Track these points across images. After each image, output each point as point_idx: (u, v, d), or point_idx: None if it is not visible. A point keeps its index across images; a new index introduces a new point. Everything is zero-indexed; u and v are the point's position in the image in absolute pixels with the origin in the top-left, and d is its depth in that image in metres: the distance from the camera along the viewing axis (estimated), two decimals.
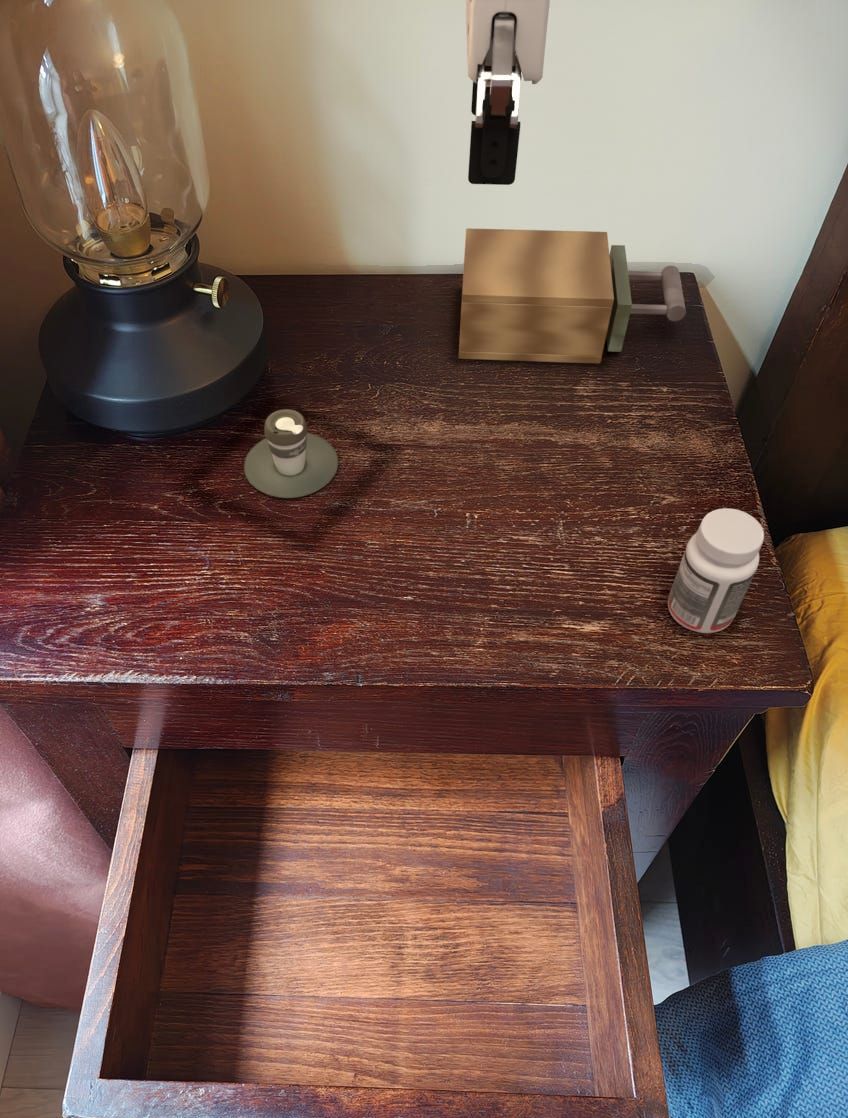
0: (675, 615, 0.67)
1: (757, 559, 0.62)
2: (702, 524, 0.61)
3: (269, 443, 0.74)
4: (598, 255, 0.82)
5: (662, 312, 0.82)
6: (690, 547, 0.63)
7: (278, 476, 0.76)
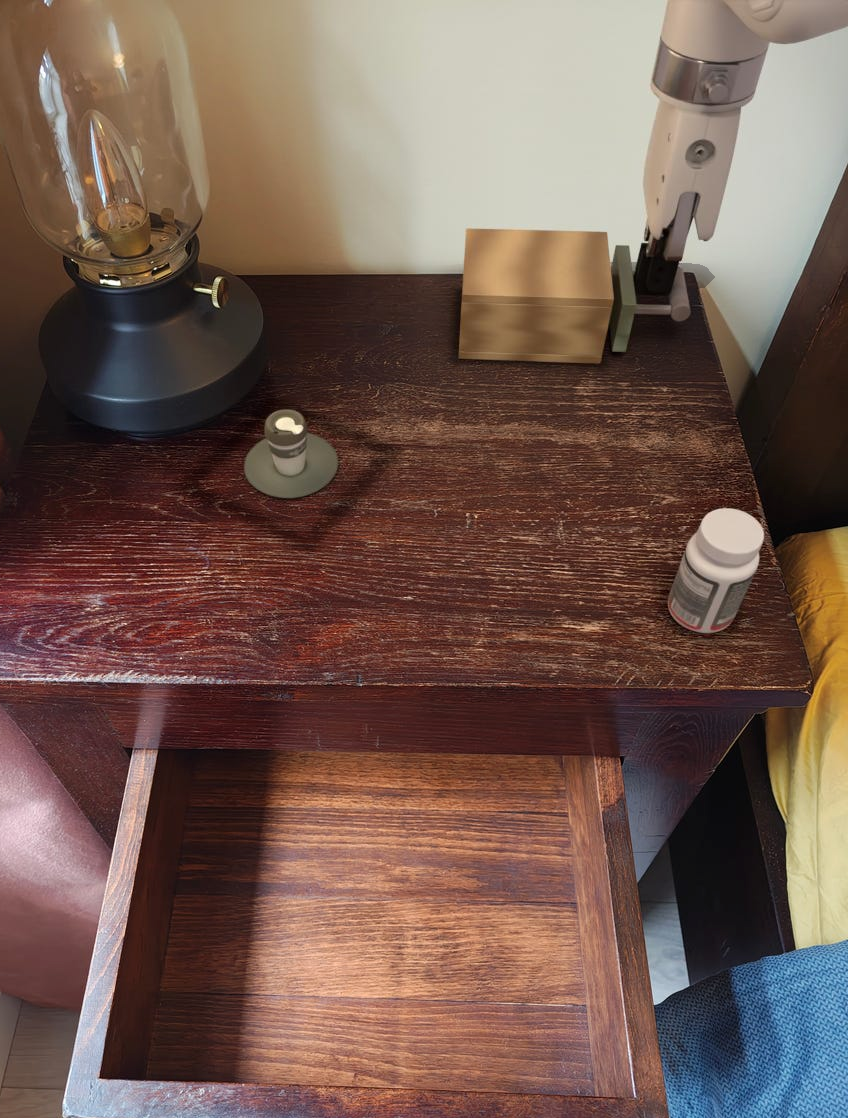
0: (675, 615, 0.67)
1: (757, 559, 0.62)
2: (702, 524, 0.61)
3: (269, 443, 0.74)
4: (598, 255, 0.82)
5: (666, 312, 0.82)
6: (690, 547, 0.63)
7: (278, 476, 0.76)
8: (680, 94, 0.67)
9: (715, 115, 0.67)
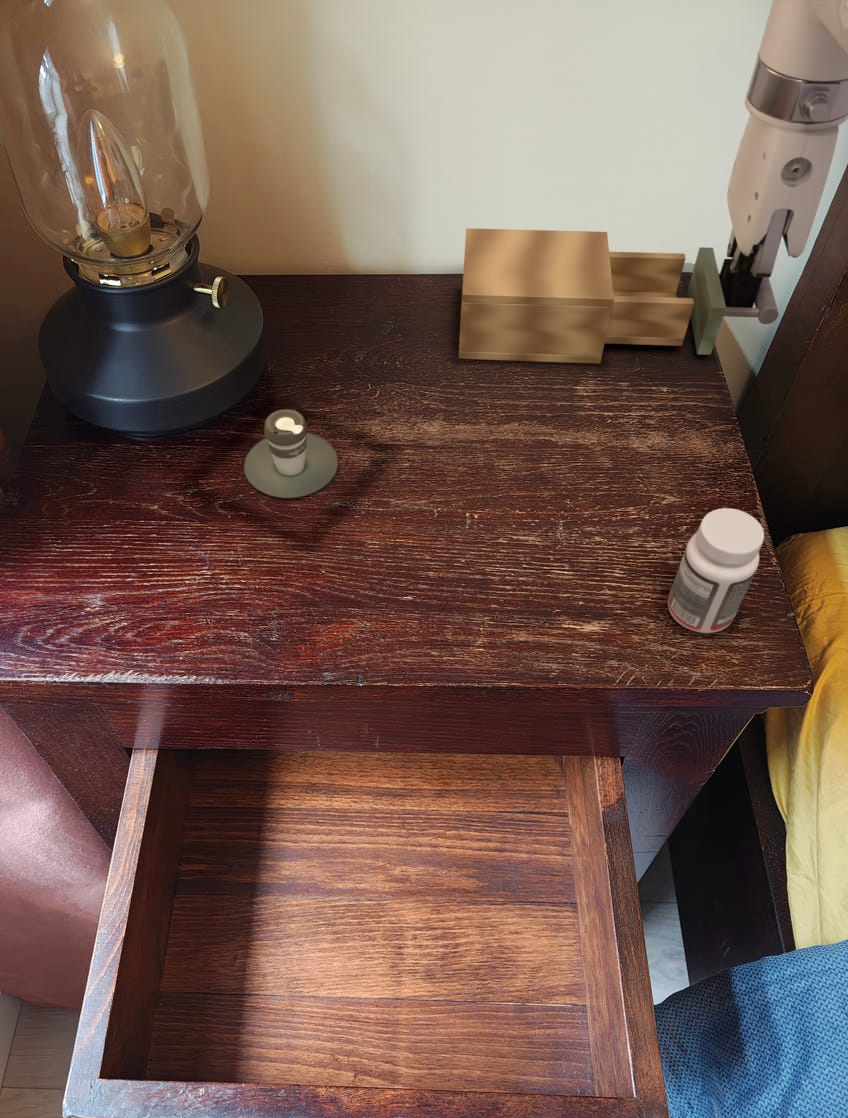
0: (675, 615, 0.67)
1: (757, 559, 0.62)
2: (702, 524, 0.61)
3: (269, 443, 0.74)
4: (598, 255, 0.82)
5: (754, 315, 0.81)
6: (690, 547, 0.63)
7: (278, 476, 0.76)
8: (778, 113, 0.68)
9: (813, 133, 0.68)
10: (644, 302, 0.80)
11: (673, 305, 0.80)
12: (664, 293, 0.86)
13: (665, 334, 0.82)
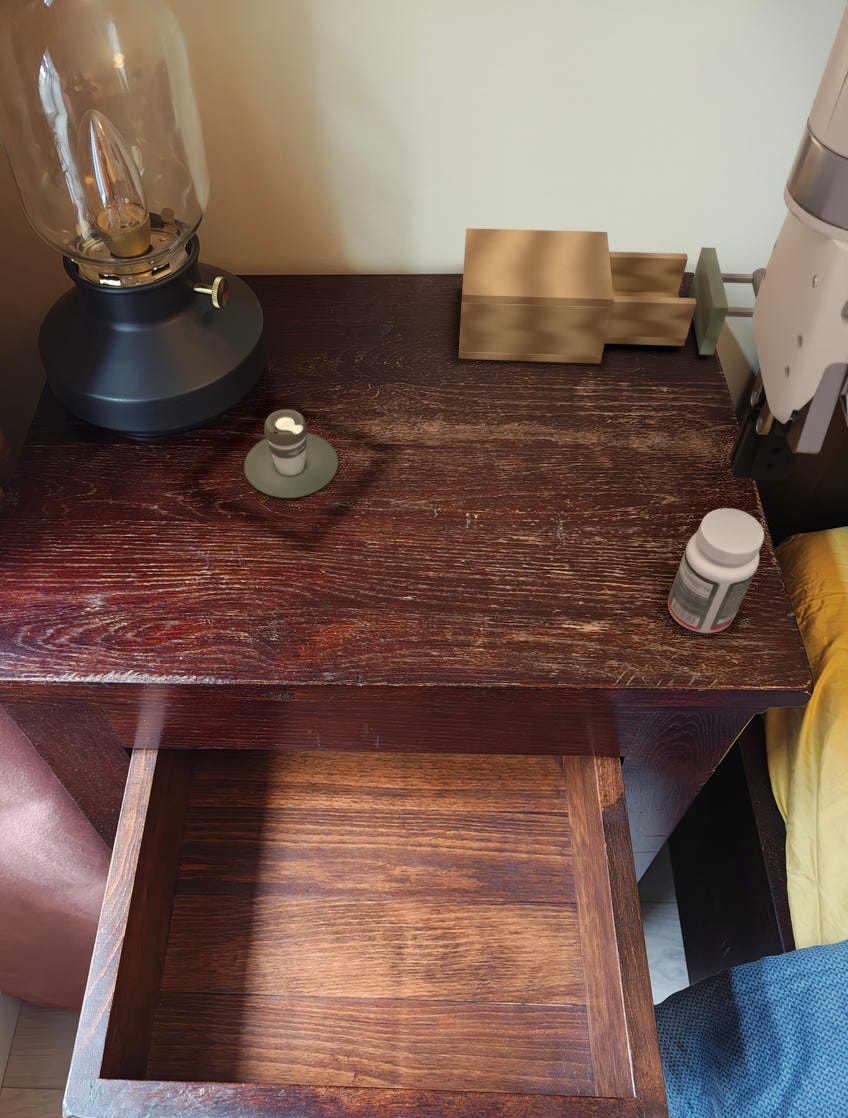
0: (675, 615, 0.67)
1: (757, 559, 0.62)
2: (702, 524, 0.61)
3: (269, 443, 0.74)
4: (598, 255, 0.82)
5: None
6: (690, 547, 0.63)
7: (278, 476, 0.76)
8: (840, 219, 0.41)
9: None
10: (647, 302, 0.80)
11: (675, 305, 0.80)
12: (666, 293, 0.86)
13: (667, 334, 0.82)
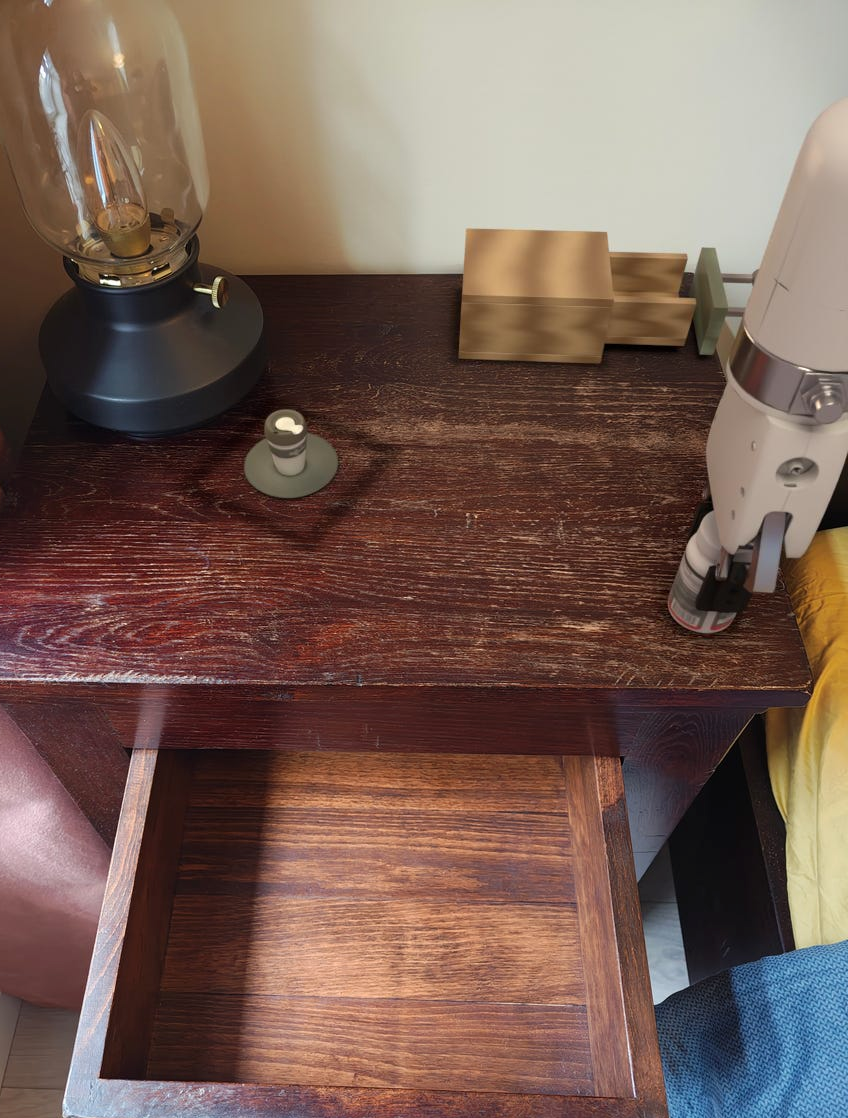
0: (675, 615, 0.67)
1: None
2: (702, 524, 0.61)
3: (269, 443, 0.74)
4: (598, 255, 0.82)
5: None
6: (690, 547, 0.63)
7: (278, 476, 0.76)
8: (771, 400, 0.49)
9: (820, 429, 0.49)
10: (647, 302, 0.80)
11: (675, 305, 0.80)
12: (666, 293, 0.86)
13: (667, 334, 0.82)
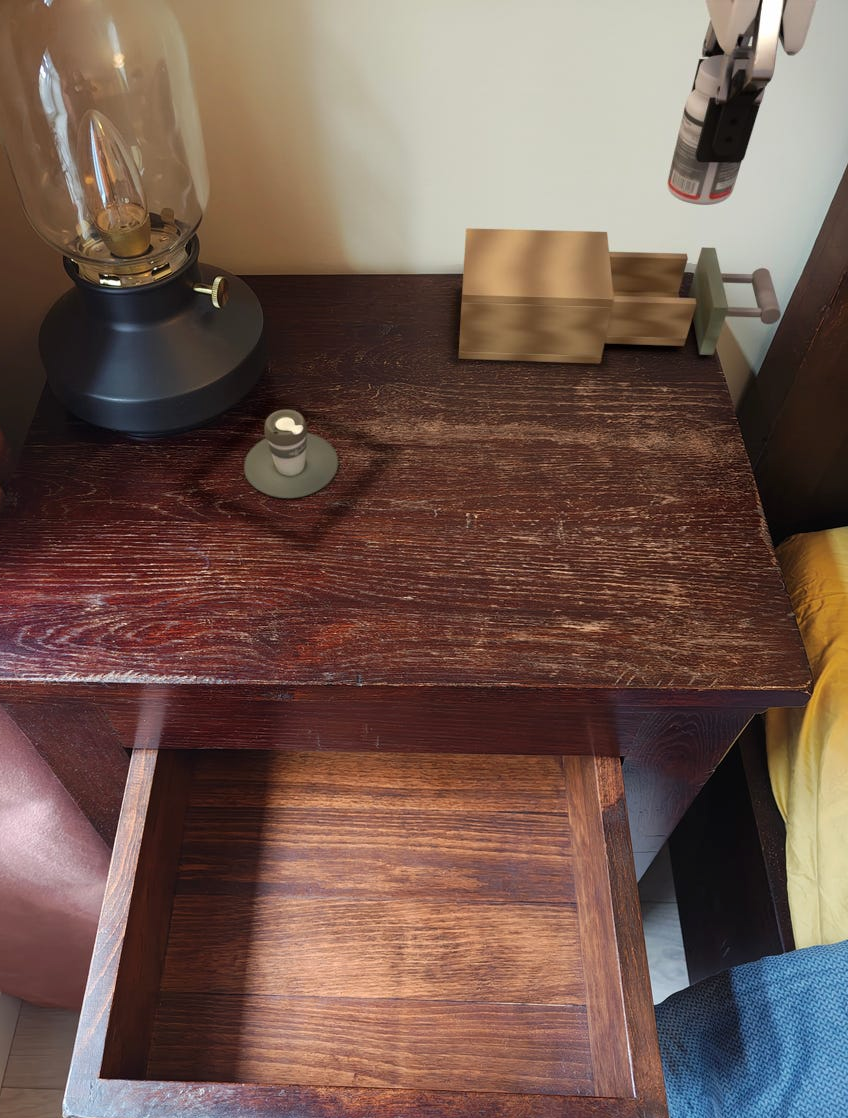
0: (675, 190, 0.68)
1: None
2: (701, 65, 0.63)
3: (269, 443, 0.74)
4: (598, 255, 0.82)
5: (756, 315, 0.81)
6: (690, 98, 0.64)
7: (278, 476, 0.76)
8: None
9: None
10: (647, 302, 0.80)
11: (675, 305, 0.80)
12: (666, 293, 0.86)
13: (667, 334, 0.82)
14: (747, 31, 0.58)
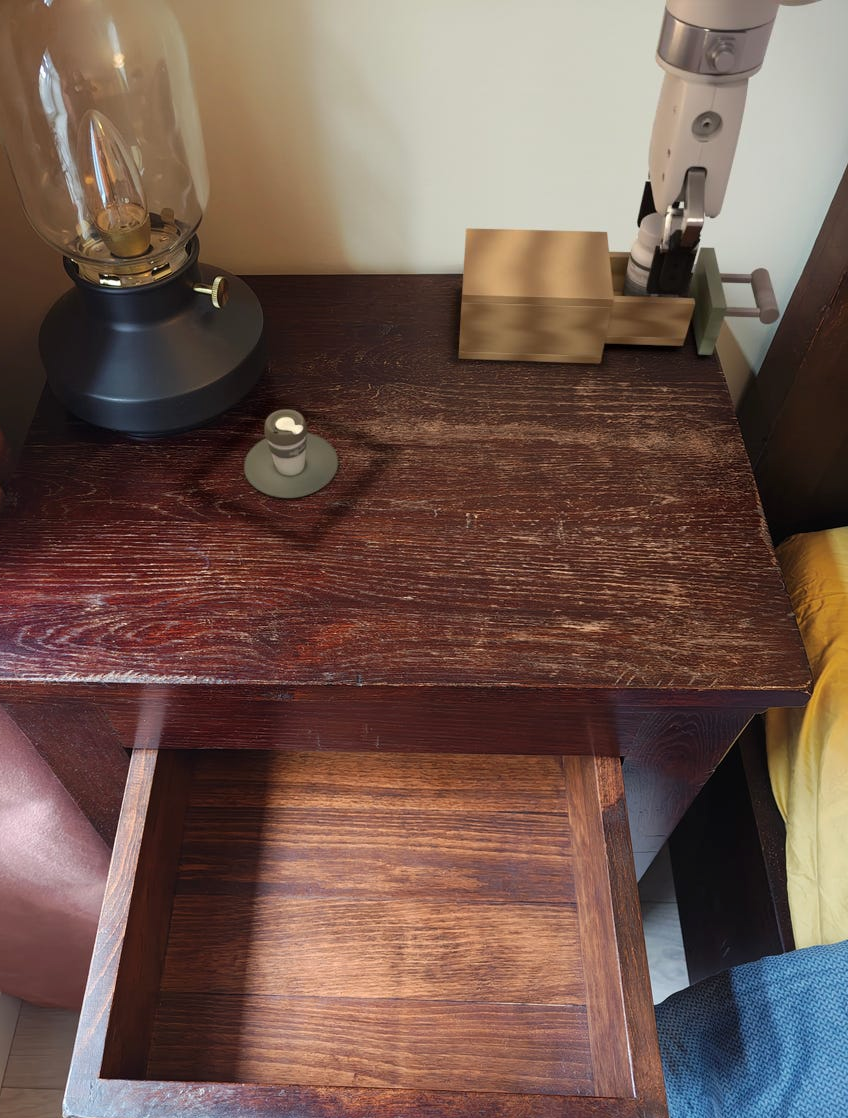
0: None
1: None
2: (642, 222, 0.78)
3: (269, 443, 0.74)
4: (598, 255, 0.82)
5: (755, 315, 0.81)
6: (634, 245, 0.80)
7: (278, 476, 0.76)
8: (686, 64, 0.66)
9: (722, 86, 0.66)
10: (645, 302, 0.80)
11: (674, 305, 0.80)
12: None
13: (666, 334, 0.82)
14: (677, 199, 0.73)
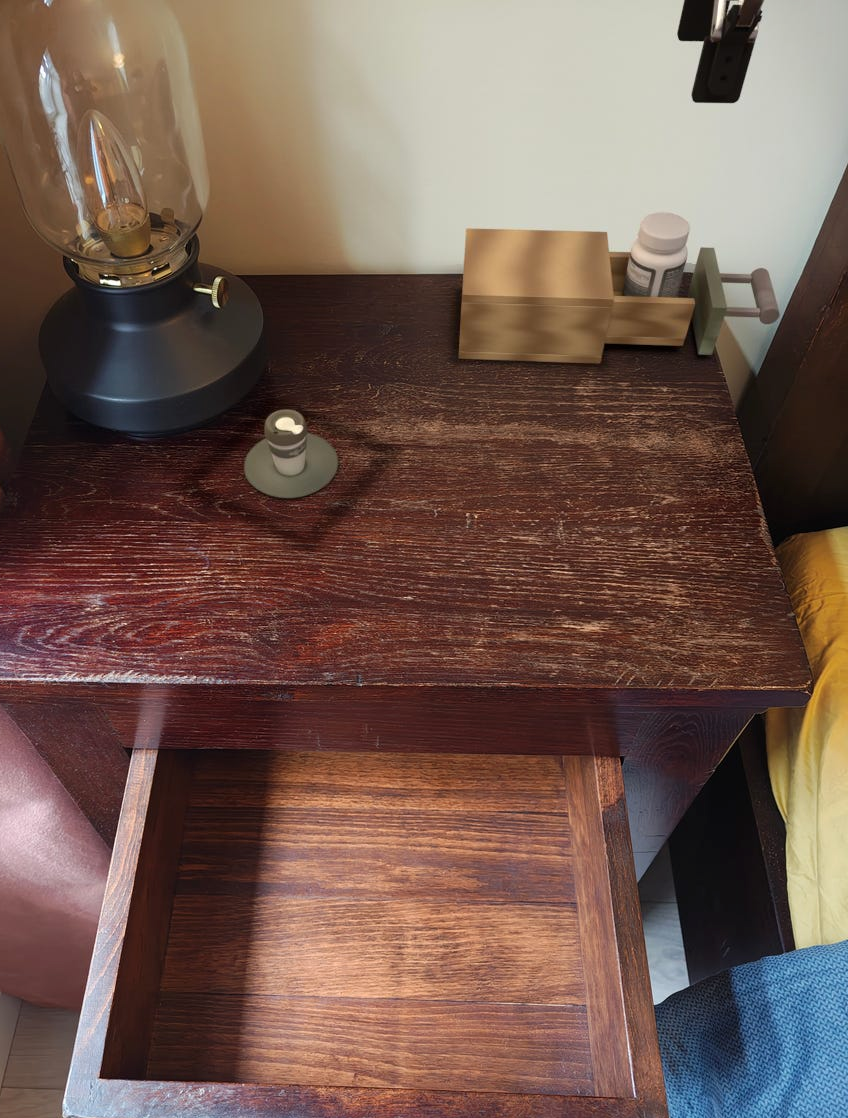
0: None
1: (685, 252, 0.79)
2: (642, 222, 0.78)
3: (269, 443, 0.74)
4: (598, 255, 0.82)
5: (755, 315, 0.81)
6: (634, 245, 0.80)
7: (278, 476, 0.76)
8: None
9: None
10: (645, 302, 0.80)
11: (674, 305, 0.80)
12: None
13: (666, 334, 0.82)
14: None
